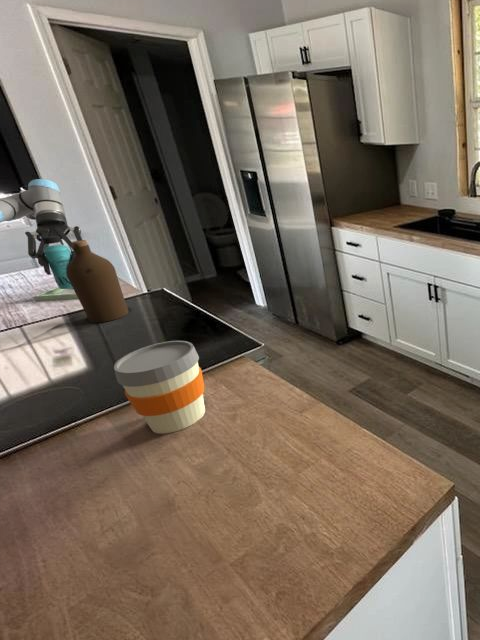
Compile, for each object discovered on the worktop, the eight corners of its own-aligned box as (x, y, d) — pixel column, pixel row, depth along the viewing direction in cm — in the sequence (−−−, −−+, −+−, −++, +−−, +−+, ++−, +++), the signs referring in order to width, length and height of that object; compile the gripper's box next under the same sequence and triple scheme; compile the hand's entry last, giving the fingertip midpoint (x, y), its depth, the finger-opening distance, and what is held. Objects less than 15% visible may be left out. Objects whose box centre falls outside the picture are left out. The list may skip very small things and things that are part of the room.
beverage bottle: (56, 292, 147) (31, 238, 140) (78, 285, 153) (55, 233, 146) (69, 293, 146) (44, 239, 138) (90, 287, 152) (68, 234, 144)
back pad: (36, 302, 143) (33, 296, 142) (71, 288, 156) (68, 282, 155) (80, 300, 144) (77, 294, 144) (110, 286, 157) (107, 280, 156)
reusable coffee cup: (223, 416, 85) (202, 354, 80) (145, 450, 77) (116, 382, 71) (206, 392, 93) (186, 334, 88) (134, 420, 84) (107, 357, 79)
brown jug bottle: (139, 312, 135) (111, 238, 126) (101, 326, 125) (67, 247, 116) (117, 308, 138) (88, 235, 129) (78, 321, 129) (44, 244, 119)
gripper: (91, 219, 158) (103, 269, 152) (15, 227, 147) (26, 282, 141) (84, 207, 152) (97, 259, 147) (5, 214, 141) (16, 271, 135)
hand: (62, 270), depth 144 cm, fingers closed on beverage bottle, 6 cm apart
